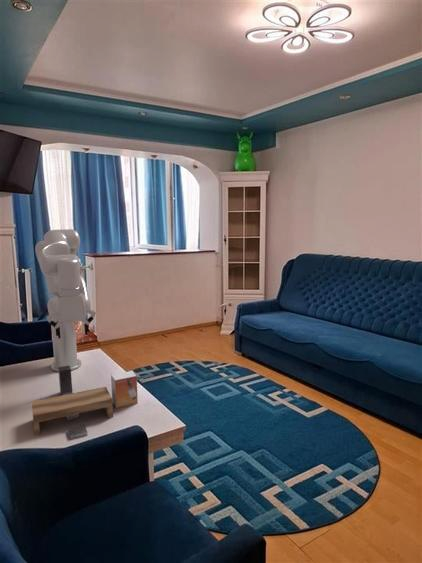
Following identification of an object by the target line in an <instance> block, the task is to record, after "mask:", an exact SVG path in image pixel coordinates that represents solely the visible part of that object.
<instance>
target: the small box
mask: <svg viewBox="0 0 422 563" xmlns="http://www.w3.org/2000/svg"><path fill="white" fill-rule="evenodd" d="M137 377H138V376H137V375H136V374H135V372H134V371H133V370H129V371H124V372H120V373H114V374H113V373H112V374H110V378H111V379H110V380H111V381H110V383H111V384H110V385H111V398H112V405H114V407H115V408H116V409H117V408H122V407H126V406H131V405H132V406H133V405H136V404H138V378H137Z"/></svg>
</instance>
